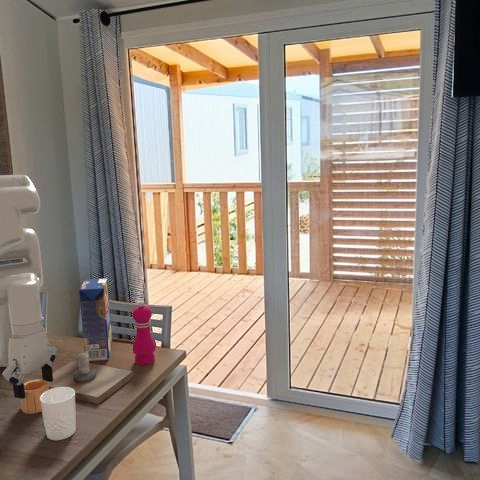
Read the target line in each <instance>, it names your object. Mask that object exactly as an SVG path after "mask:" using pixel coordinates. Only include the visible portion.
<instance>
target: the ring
mask: <svg viewBox="0 0 480 480" xmlns="http://www.w3.org/2000/svg"><path fill="white" fill-rule="evenodd" d="M42 379H43V378H41V379H40V378H39V379H32V380H29V381H26V382H24V383H23V384H24V389H25V398H24V399H20V398H19V400H20V401H19V402H20V409H21V411H22V412H23V413H24V414H29V415H30V414H31V415H32V414H38V413H42V409H41V403H40V396H41V395H42V394H43V393H44V392H46V391H48V390H49V385H48V382H47V381H46V380H42Z"/></svg>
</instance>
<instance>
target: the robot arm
mask: <svg viewBox="0 0 480 480" xmlns="http://www.w3.org/2000/svg"><path fill="white" fill-rule="evenodd" d="M40 209H41V198H40V195H39V193H38V190H37V188H36V186H35V185H34V183H33V181H32V179H30V178H29V176H27V175H26V174H5V175H4V174H3V175H1V174H0V262H1V261H2V262H3V261H10V260H11V261H12V260H18V259H25V261H21V262H14V263H13V262H12V263H5V264H0V368H5V369H4V370H3V372H2V376H3V378H4V379H5V381H6V382H7V383H9V384H11V385H12V389H13V396H14V398H16V399H17V398H18V399H19V400H20V399H24V398H25V389H24V383H23V381H24V378H25V376H26V375H28V374H30V373H31V372H33V371H36V370H37V369H39V368H41V377H42V378H41V379H43V380H46V381H48V382H52V381H53V367H54V364H55V363H54V362H55V360H56V357H57V356H56V354H57V351H58V348H57V347H56V346H51V345H50V342H49V339H48V335H47V332H46V329H45V327H44V321H45V318H44V317H43V313H42V312H43V311H42V305H41V294H40V293H41V291H42V287H43V284H44V271H43V265H42V264H43V263H42V256H41V255H42V254H41V247H40V241H39V237H38V235H37V234H38V233H37V232H35V230H34V229H33V228H28V227H27V228H24V227H23V223H22V218H21V217H23V216H31V215H37V214H38V213H39V212H40Z"/></svg>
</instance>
